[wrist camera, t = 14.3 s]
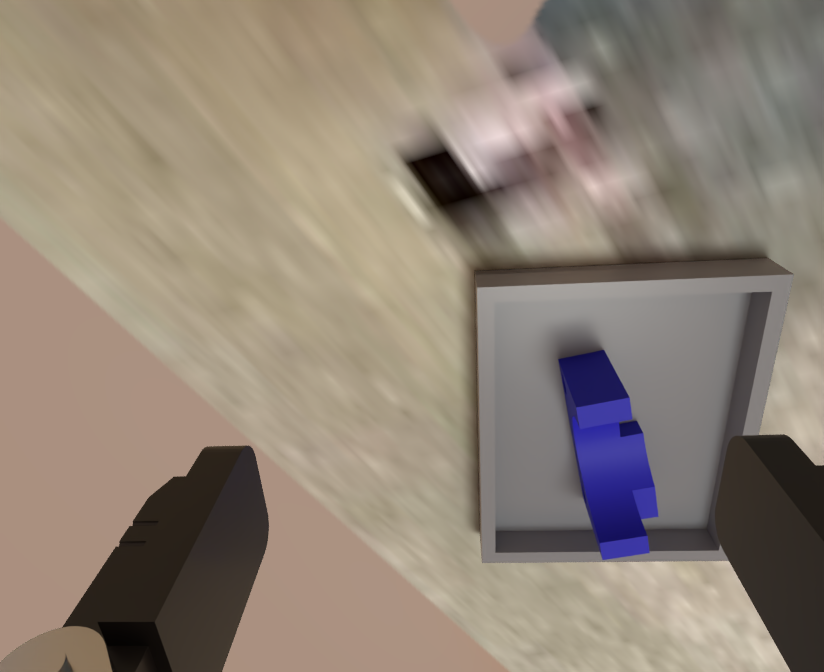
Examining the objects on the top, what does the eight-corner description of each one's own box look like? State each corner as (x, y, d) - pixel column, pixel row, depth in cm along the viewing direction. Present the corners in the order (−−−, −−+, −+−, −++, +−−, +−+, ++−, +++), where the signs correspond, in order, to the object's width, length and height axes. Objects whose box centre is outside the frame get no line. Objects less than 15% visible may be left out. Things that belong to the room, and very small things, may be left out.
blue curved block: (645, 487, 44) (673, 549, 38) (583, 498, 44) (602, 560, 39) (627, 345, 39) (656, 392, 34) (558, 359, 40) (576, 407, 34)
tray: (768, 258, 37) (793, 274, 34) (714, 530, 46) (730, 560, 43) (474, 270, 38) (477, 287, 35) (479, 533, 47) (482, 562, 45)
